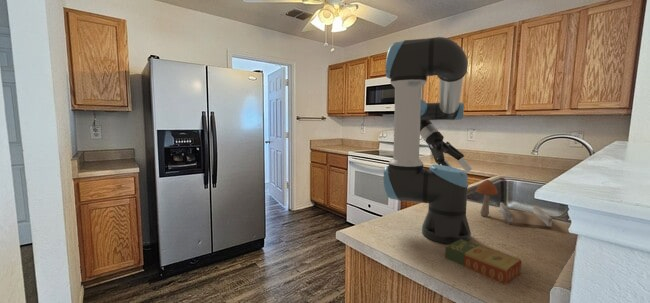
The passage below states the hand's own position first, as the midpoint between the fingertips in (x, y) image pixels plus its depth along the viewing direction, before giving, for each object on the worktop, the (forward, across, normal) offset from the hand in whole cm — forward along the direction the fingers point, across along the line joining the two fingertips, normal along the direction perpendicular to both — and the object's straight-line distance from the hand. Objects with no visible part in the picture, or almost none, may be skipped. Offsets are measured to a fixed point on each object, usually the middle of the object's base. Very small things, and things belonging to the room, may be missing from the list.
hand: (461, 172), depth 121 cm
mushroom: (+19, 0, -4) cm, 20 cm away
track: (+27, -7, +4) cm, 28 cm away
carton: (+31, +43, +8) cm, 53 cm away
